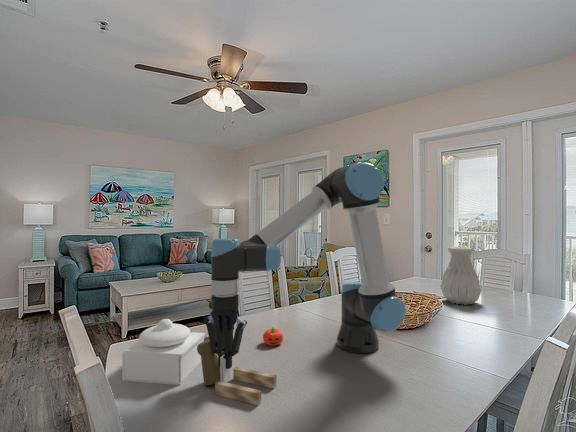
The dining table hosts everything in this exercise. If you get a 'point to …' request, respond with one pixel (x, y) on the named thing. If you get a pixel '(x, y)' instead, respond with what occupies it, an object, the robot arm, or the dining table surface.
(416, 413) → the dining table surface
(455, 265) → the vase
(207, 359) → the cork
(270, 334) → the pumpkin
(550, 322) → the dining table surface
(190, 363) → the butter dish
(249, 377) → the pair of wooden strips
